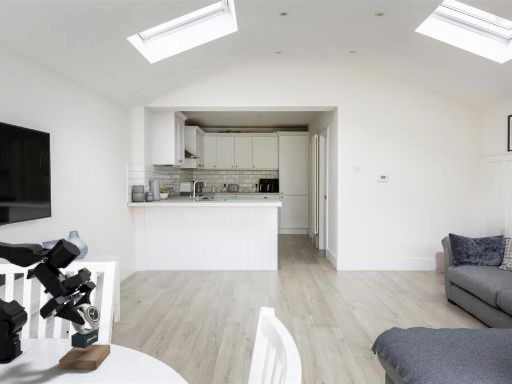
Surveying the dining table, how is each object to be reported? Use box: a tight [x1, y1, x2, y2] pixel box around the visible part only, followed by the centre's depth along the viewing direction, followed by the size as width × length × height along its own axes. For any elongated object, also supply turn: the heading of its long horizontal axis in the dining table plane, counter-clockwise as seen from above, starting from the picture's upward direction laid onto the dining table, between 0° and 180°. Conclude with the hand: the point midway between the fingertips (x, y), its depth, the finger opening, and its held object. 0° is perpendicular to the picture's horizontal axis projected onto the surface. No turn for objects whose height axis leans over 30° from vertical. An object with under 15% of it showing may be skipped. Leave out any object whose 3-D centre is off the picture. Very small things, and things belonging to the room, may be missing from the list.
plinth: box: [58, 344, 111, 371], centre depth 111 cm, size 10×10×2 cm
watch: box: [70, 303, 101, 349], centre depth 110 cm, size 6×8×11 cm
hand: (89, 320), depth 110 cm, fingers closed on watch, 5 cm apart
